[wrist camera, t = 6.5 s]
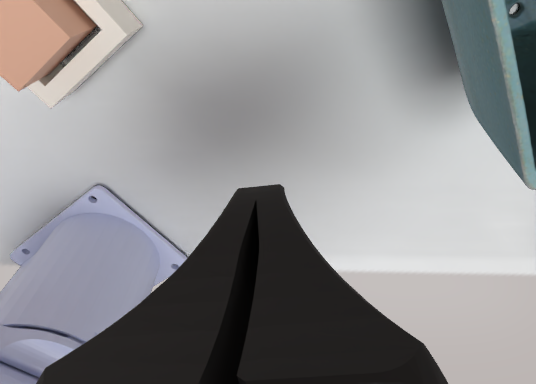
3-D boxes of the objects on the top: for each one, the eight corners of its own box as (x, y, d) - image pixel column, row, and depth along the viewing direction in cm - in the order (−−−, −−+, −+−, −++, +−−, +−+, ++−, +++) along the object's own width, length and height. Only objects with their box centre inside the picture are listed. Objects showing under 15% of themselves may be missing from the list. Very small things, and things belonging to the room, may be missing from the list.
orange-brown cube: (49, 73, 17) (18, 91, 15) (-19, 9, 16) (-64, 18, 14) (97, 25, 16) (70, 37, 14) (28, -48, 15) (-14, -48, 13)
